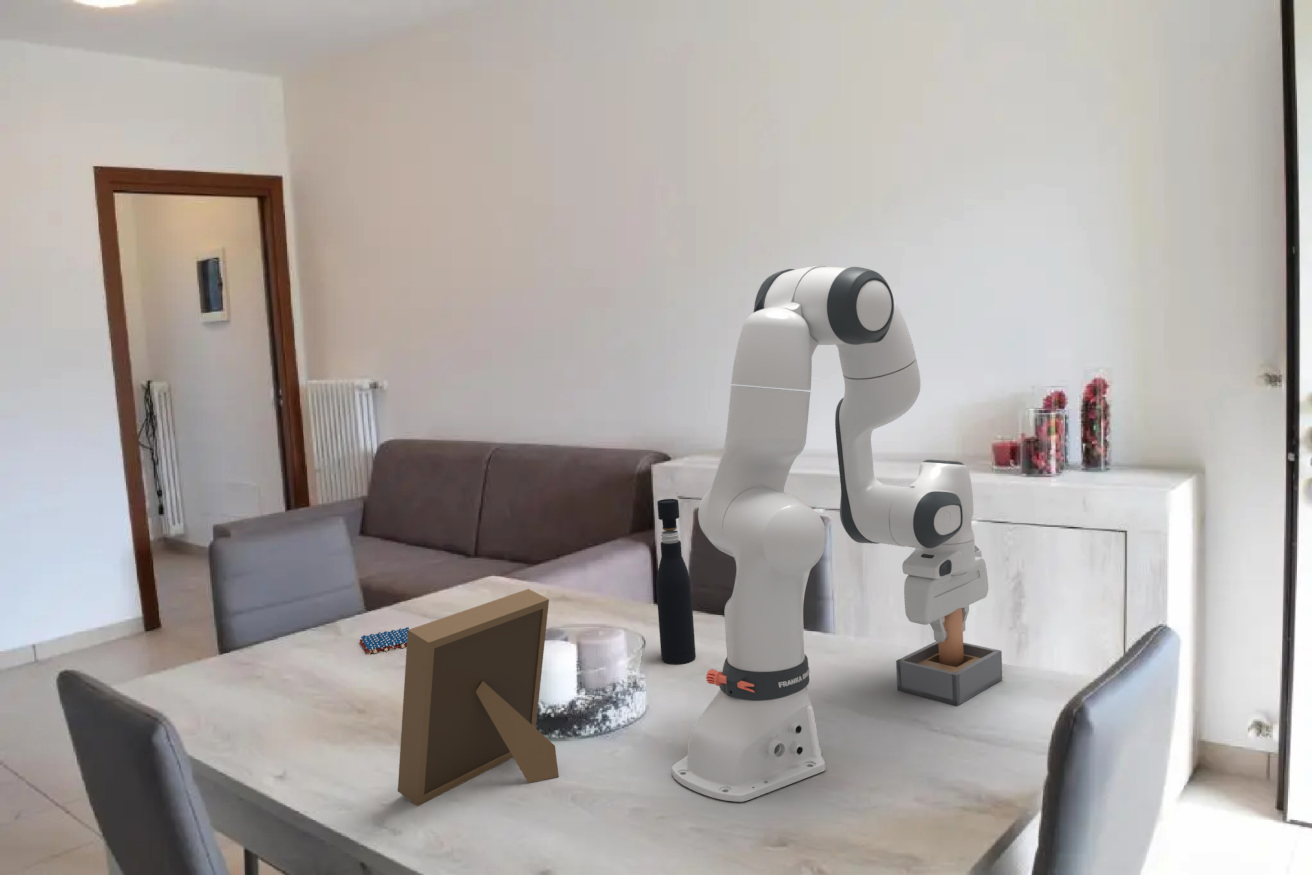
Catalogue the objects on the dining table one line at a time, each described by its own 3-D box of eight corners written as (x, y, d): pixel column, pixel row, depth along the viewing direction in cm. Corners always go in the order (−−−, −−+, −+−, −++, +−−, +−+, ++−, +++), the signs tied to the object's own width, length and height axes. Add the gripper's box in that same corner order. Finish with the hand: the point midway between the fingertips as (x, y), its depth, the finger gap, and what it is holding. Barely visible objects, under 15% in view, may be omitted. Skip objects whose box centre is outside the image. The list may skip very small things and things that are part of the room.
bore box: (957, 705, 157) (956, 675, 156) (897, 689, 165) (896, 660, 164) (1002, 679, 166) (1001, 650, 166) (943, 665, 174) (942, 638, 174)
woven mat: (358, 644, 211) (357, 635, 211) (409, 634, 215) (408, 625, 215) (366, 658, 202) (365, 648, 201) (419, 647, 206) (418, 638, 206)
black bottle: (682, 666, 183) (671, 505, 179) (654, 661, 187) (643, 502, 183) (702, 655, 188) (692, 498, 184) (674, 650, 192) (664, 496, 188)
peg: (955, 671, 165) (953, 612, 164) (934, 666, 168) (932, 608, 167) (968, 664, 168) (966, 606, 167) (947, 659, 171) (945, 603, 170)
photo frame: (398, 797, 139) (382, 623, 135) (514, 740, 155) (502, 583, 152) (468, 828, 129) (452, 641, 126) (584, 764, 146) (573, 597, 143)
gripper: (963, 540, 175) (965, 617, 177) (895, 566, 162) (899, 648, 163) (996, 544, 171) (998, 623, 172) (930, 571, 157) (933, 656, 159)
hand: (949, 636), depth 168 cm, fingers closed on peg, 4 cm apart
